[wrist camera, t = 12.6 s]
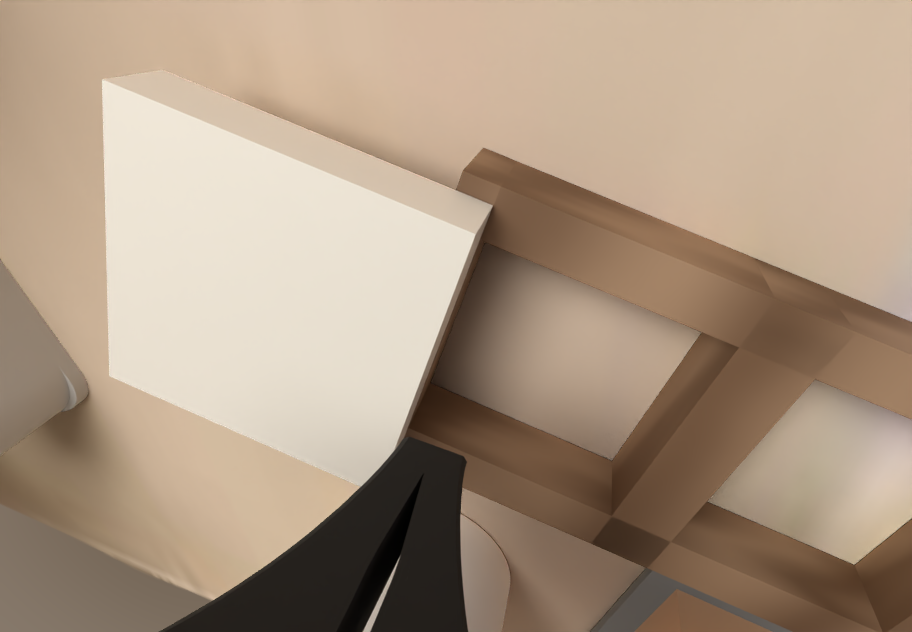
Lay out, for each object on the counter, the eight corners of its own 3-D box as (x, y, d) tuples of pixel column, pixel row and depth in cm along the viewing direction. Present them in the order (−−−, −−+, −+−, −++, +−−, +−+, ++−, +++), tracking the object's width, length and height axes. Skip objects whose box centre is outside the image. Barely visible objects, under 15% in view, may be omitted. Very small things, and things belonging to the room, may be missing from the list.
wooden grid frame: (1109, 402, 15) (1190, 469, 13) (852, 599, 20) (880, 669, 18) (483, 148, 16) (462, 170, 14) (394, 401, 21) (369, 446, 19)
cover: (493, 205, 14) (475, 234, 12) (399, 449, 19) (377, 494, 17) (163, 69, 14) (101, 79, 13) (154, 342, 19) (109, 376, 17)
